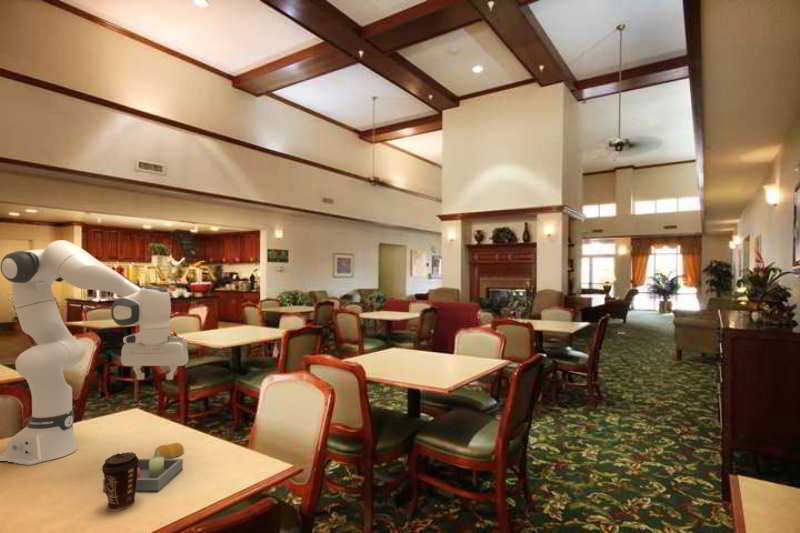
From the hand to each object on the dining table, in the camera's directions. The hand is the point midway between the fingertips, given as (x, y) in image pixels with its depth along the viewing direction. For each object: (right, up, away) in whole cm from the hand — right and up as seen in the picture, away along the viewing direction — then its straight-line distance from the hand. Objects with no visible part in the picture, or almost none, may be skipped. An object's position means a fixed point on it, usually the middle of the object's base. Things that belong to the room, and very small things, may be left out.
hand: (155, 379), depth 141 cm
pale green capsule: (+3, -29, -5) cm, 29 cm away
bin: (+1, -29, -7) cm, 30 cm away
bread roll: (-1, -30, +11) cm, 32 cm away
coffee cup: (+2, -29, -21) cm, 36 cm away
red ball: (-2, -26, -9) cm, 28 cm away
